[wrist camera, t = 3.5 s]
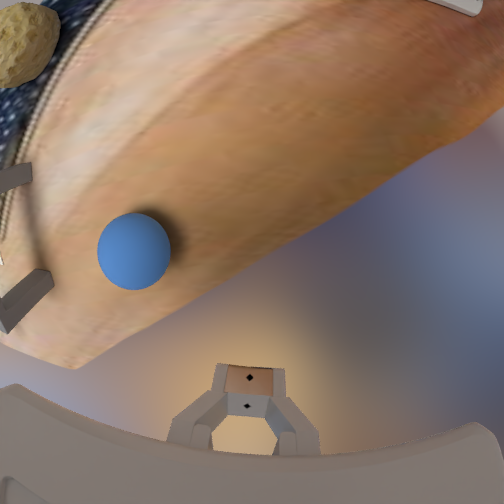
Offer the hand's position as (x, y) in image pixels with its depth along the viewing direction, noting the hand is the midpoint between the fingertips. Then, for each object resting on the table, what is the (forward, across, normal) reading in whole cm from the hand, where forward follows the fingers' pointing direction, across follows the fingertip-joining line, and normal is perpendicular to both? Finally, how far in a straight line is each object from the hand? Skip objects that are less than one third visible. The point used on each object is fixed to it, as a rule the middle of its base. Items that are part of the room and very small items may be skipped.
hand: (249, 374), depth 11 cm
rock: (+13, +25, -22) cm, 35 cm away
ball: (+10, +10, -1) cm, 14 cm away
